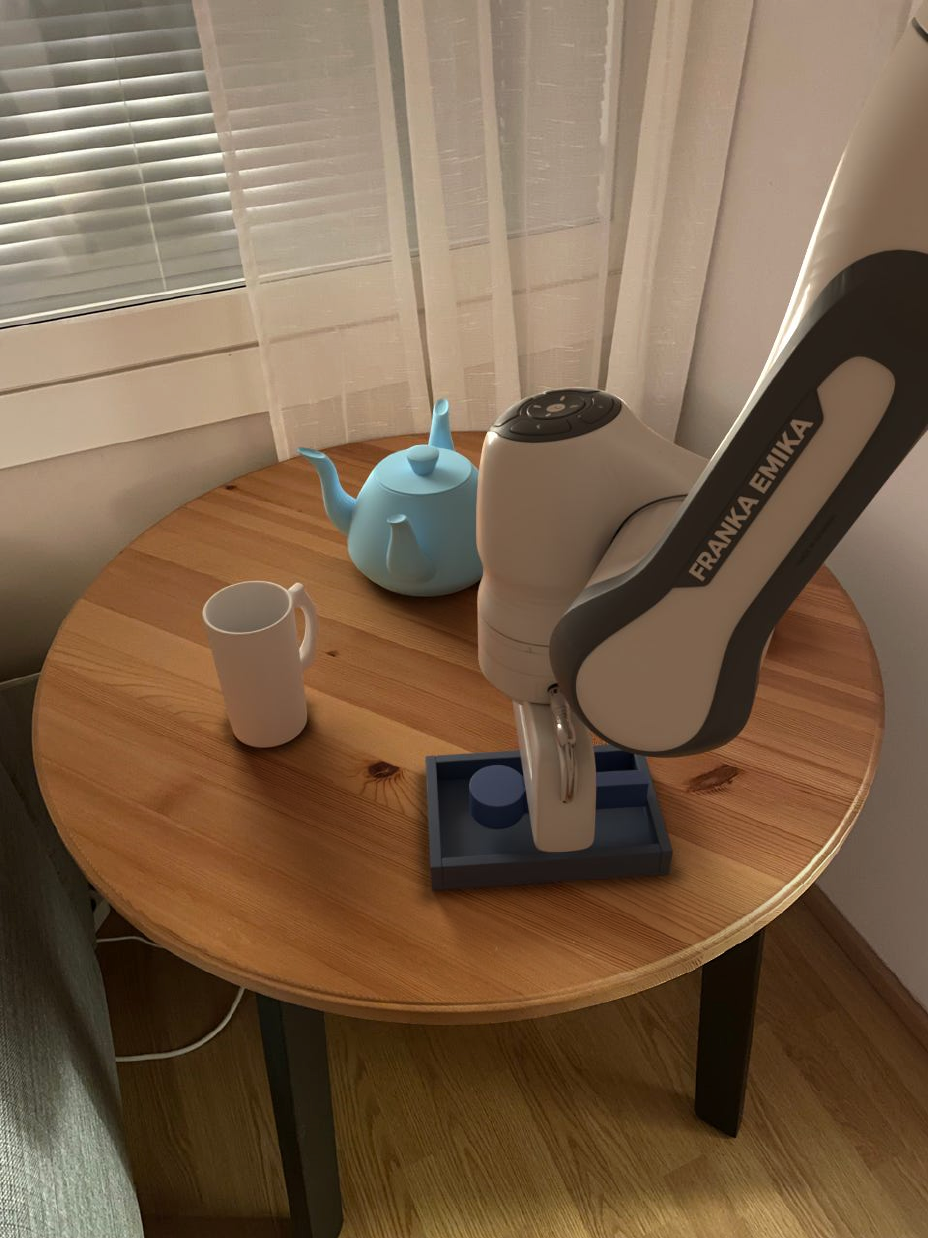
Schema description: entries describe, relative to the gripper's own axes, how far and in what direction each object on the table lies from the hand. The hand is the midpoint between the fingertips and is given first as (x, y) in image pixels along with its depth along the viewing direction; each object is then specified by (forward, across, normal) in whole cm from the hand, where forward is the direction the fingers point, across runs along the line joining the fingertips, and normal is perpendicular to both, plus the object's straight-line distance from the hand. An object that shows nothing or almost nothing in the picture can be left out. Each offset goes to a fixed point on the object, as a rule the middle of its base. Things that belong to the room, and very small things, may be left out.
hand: (542, 789), depth 72 cm
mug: (+4, +14, +20) cm, 25 cm away
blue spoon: (+2, 0, -1) cm, 2 cm away
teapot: (+4, +36, +8) cm, 37 cm away
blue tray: (+4, 0, 0) cm, 4 cm away
